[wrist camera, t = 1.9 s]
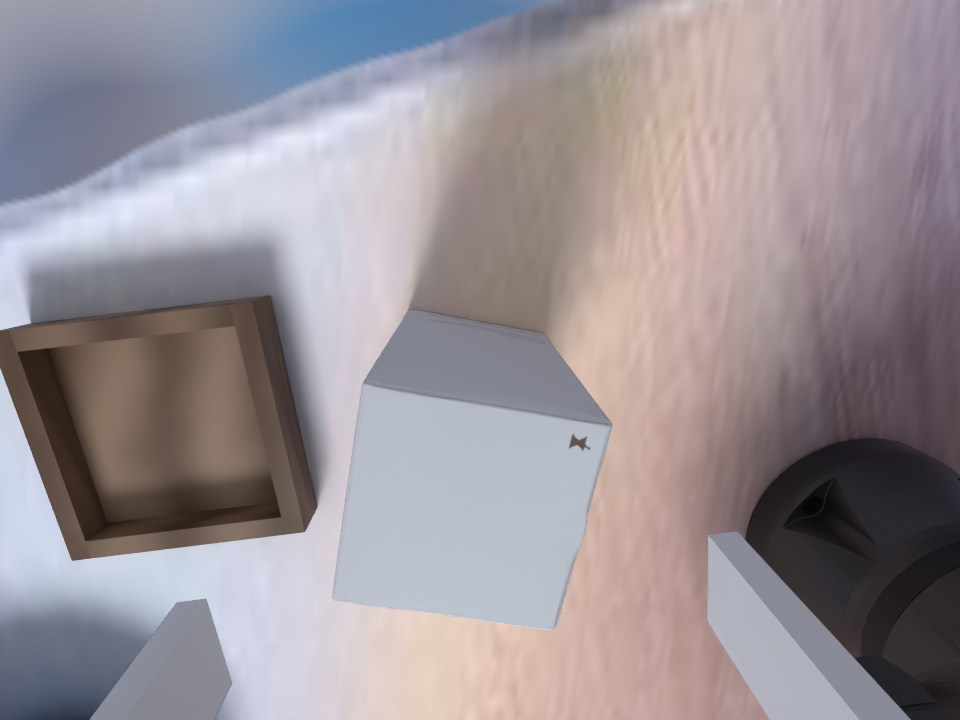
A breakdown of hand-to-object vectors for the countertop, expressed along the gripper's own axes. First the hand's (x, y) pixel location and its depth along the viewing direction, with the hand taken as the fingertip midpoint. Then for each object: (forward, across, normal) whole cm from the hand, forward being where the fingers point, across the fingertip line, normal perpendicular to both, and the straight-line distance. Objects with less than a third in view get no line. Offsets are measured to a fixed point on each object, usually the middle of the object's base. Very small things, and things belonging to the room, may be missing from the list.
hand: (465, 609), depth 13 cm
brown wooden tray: (+20, +18, 0) cm, 26 cm away
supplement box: (+20, 0, 0) cm, 20 cm away
